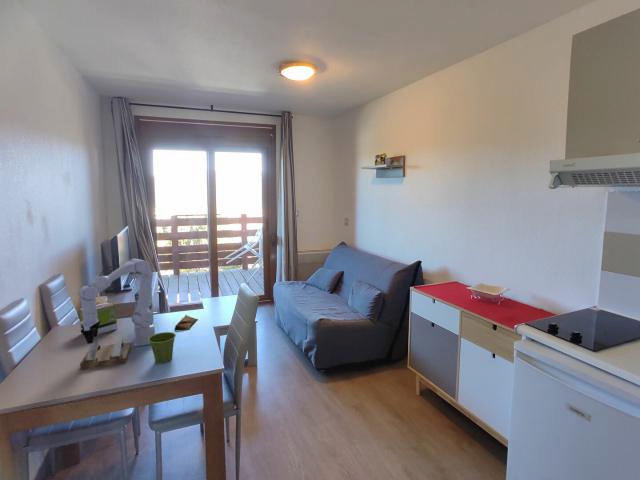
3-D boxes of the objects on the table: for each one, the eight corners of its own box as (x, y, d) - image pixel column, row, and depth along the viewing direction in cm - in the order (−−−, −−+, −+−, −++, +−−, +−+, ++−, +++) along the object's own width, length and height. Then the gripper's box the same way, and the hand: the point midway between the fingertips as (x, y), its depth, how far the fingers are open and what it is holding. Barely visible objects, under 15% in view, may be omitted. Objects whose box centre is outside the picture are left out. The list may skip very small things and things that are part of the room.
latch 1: (99, 339, 172) (99, 337, 171) (94, 360, 162) (94, 359, 161) (92, 339, 171) (91, 338, 170) (87, 361, 161) (86, 360, 160)
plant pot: (150, 357, 171) (148, 334, 170) (176, 352, 176) (175, 330, 174) (149, 368, 160) (147, 344, 159) (177, 363, 165) (176, 339, 164)
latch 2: (123, 336, 175) (122, 334, 175) (119, 356, 165) (119, 355, 165) (116, 336, 174) (115, 335, 174) (112, 357, 164) (112, 356, 164)
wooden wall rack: (131, 347, 182) (131, 338, 182) (126, 362, 165) (125, 353, 165) (90, 352, 176) (89, 343, 175) (80, 369, 159) (79, 359, 159)
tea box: (109, 325, 212) (107, 301, 210) (117, 329, 206) (115, 304, 204) (80, 333, 200) (78, 308, 198) (88, 338, 194) (86, 311, 192)
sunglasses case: (190, 330, 204) (183, 320, 203) (179, 336, 204) (172, 327, 203) (198, 319, 222) (192, 310, 221) (188, 325, 222) (182, 316, 221)
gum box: (145, 322, 218) (142, 285, 214) (154, 321, 219) (151, 284, 216) (136, 334, 199) (133, 294, 196) (146, 333, 200) (143, 293, 197)
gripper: (83, 308, 172) (86, 335, 173) (74, 318, 158) (77, 347, 160) (100, 306, 174) (103, 333, 176) (93, 316, 160) (96, 345, 162)
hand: (92, 340), depth 168 cm, fingers open, 7 cm apart
